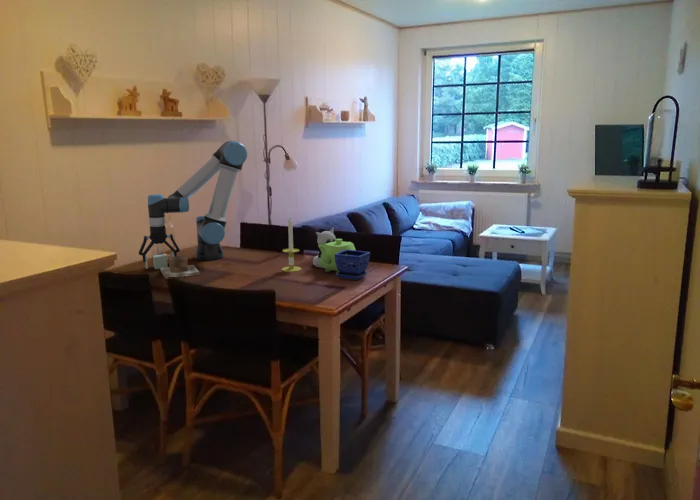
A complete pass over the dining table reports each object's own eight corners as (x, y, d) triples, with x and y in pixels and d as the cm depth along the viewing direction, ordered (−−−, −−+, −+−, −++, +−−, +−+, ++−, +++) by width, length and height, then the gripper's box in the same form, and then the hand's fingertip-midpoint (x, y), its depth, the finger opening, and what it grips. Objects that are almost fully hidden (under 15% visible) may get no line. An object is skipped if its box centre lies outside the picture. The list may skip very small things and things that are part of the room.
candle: (305, 268, 280) (304, 215, 275) (295, 272, 272) (293, 218, 266) (288, 266, 285) (286, 214, 279) (277, 270, 276) (276, 216, 270)
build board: (193, 267, 282) (193, 264, 281) (199, 274, 268) (199, 271, 267) (160, 270, 275) (160, 267, 275) (164, 278, 261) (164, 275, 261)
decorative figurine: (319, 270, 276) (318, 230, 272) (308, 264, 289) (307, 226, 284) (346, 267, 282) (346, 228, 278) (334, 261, 295) (334, 224, 291)
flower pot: (359, 281, 253) (360, 256, 251) (333, 278, 258) (333, 253, 256) (370, 276, 265) (371, 251, 263) (344, 273, 270) (345, 249, 268)
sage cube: (166, 265, 286) (165, 254, 285) (167, 268, 281) (166, 256, 280) (153, 266, 284) (153, 255, 283) (155, 269, 279) (154, 257, 277)
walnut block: (186, 267, 276) (185, 255, 275) (188, 271, 269) (187, 258, 267) (169, 268, 273) (168, 256, 272) (171, 272, 266) (170, 260, 265)
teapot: (333, 262, 292) (332, 232, 289) (365, 268, 278) (365, 237, 275) (299, 271, 273) (298, 240, 270) (331, 279, 260) (331, 245, 256)
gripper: (181, 222, 286) (184, 262, 291) (130, 225, 276) (134, 267, 281) (184, 224, 280) (186, 266, 284) (131, 228, 270) (135, 271, 274)
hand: (160, 266), depth 283 cm, fingers open, 12 cm apart
